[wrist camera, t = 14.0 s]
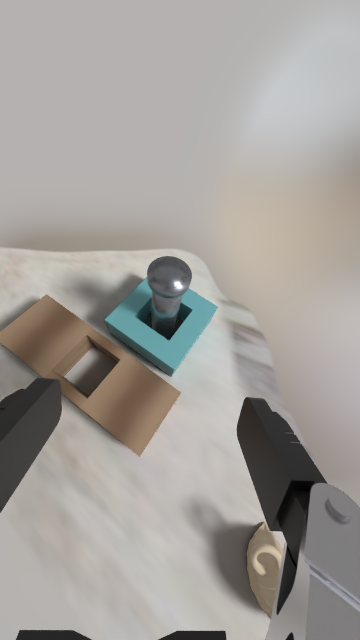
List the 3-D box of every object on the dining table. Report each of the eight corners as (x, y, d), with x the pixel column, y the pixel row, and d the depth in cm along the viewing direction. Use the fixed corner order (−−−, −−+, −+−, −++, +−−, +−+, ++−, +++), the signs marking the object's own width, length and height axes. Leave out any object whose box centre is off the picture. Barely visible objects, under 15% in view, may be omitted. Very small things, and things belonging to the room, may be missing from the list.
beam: (12, 347, 26) (-7, 337, 23) (57, 308, 29) (46, 294, 26) (141, 452, 23) (139, 456, 20) (177, 396, 26) (181, 392, 23)
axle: (142, 329, 29) (138, 276, 19) (159, 309, 31) (164, 249, 20) (165, 346, 29) (175, 300, 18) (182, 324, 31) (199, 271, 20)
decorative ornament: (274, 641, 18) (317, 716, 14) (225, 527, 21) (247, 556, 17) (308, 607, 20) (359, 665, 15) (258, 503, 23) (286, 524, 18)
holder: (110, 332, 29) (104, 319, 25) (155, 284, 33) (156, 267, 29) (171, 376, 27) (174, 369, 24) (210, 320, 31) (217, 306, 28)
